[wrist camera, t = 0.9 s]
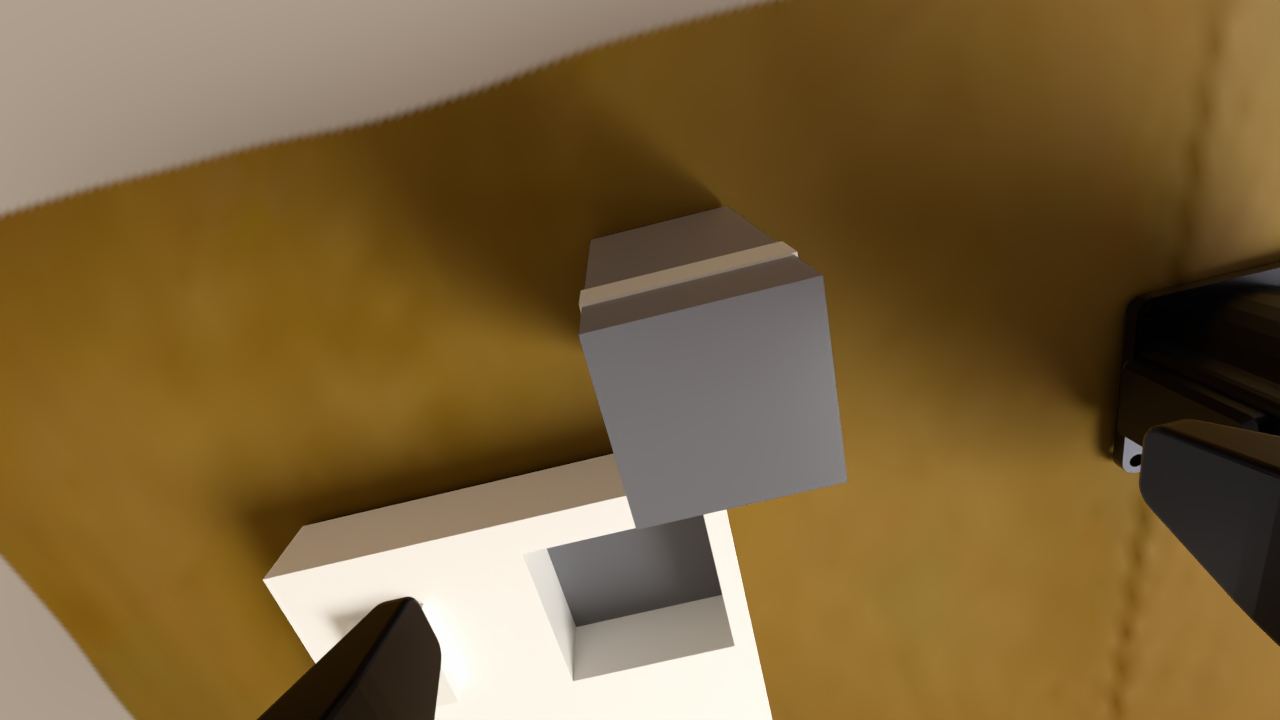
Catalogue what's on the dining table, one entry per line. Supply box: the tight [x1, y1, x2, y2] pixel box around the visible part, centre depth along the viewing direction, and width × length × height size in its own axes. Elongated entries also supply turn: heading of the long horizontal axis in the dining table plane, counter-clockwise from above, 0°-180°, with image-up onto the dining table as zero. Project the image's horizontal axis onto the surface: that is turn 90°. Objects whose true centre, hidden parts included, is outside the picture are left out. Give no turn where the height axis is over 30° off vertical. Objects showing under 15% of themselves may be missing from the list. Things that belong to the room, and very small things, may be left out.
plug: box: [578, 206, 847, 530], centre depth 14 cm, size 4×4×8 cm
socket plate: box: [263, 454, 772, 720], centre depth 20 cm, size 14×11×3 cm
